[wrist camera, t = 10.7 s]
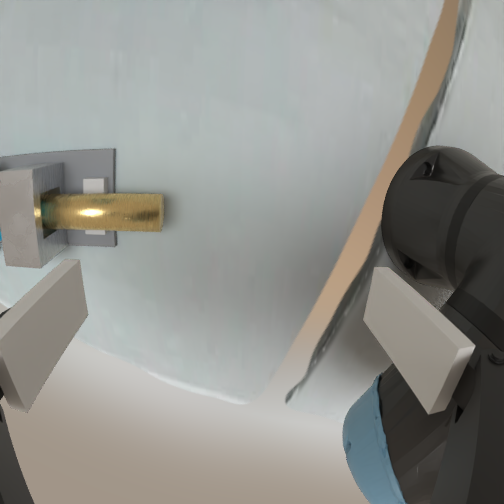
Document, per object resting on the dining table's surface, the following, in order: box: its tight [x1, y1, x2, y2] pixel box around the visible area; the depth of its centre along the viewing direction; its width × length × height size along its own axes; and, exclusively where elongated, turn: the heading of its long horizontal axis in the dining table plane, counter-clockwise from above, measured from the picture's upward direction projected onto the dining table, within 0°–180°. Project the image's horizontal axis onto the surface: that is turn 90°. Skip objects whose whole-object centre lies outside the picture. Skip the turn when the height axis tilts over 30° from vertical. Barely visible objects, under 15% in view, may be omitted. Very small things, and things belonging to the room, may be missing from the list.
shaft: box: [40, 193, 164, 232], centre depth 24 cm, size 13×3×3 cm, turn 86°
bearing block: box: [0, 162, 69, 268], centre depth 24 cm, size 4×8×6 cm, turn 176°
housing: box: [0, 149, 117, 247], centre depth 24 cm, size 24×9×4 cm, turn 86°
